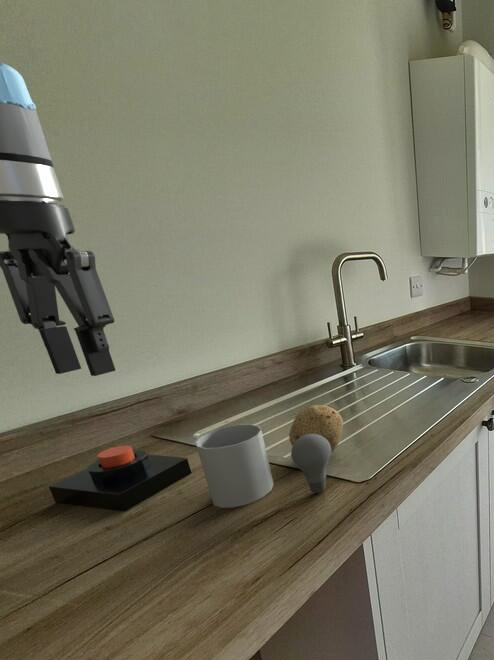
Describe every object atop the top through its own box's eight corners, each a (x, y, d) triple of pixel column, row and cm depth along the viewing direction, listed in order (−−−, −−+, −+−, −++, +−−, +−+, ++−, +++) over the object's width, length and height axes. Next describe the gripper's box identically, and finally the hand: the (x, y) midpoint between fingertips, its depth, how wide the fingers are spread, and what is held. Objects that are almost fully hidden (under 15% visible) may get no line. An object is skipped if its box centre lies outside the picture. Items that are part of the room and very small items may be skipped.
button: (94, 468, 64) (90, 456, 63) (121, 455, 68) (118, 444, 67) (115, 470, 63) (111, 458, 63) (141, 457, 67) (138, 446, 66)
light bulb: (344, 484, 67) (335, 429, 64) (324, 504, 62) (313, 445, 59) (314, 481, 68) (303, 426, 65) (291, 500, 63) (279, 442, 60)
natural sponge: (292, 472, 71) (281, 419, 68) (295, 449, 79) (286, 401, 76) (348, 461, 75) (340, 410, 71) (346, 441, 82) (338, 394, 79)
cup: (199, 500, 63) (182, 442, 60) (249, 474, 71) (236, 421, 67) (237, 512, 60) (220, 452, 57) (285, 484, 68) (273, 429, 64)
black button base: (55, 503, 63) (43, 474, 61) (130, 466, 73) (121, 441, 72) (124, 511, 61) (114, 482, 59) (191, 473, 71) (184, 447, 69)
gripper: (115, 202, 55) (163, 367, 62) (7, 205, 58) (66, 362, 66) (45, 196, 48) (110, 383, 55) (-73, 200, 51) (3, 376, 59)
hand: (86, 371), depth 60 cm, fingers open, 6 cm apart
